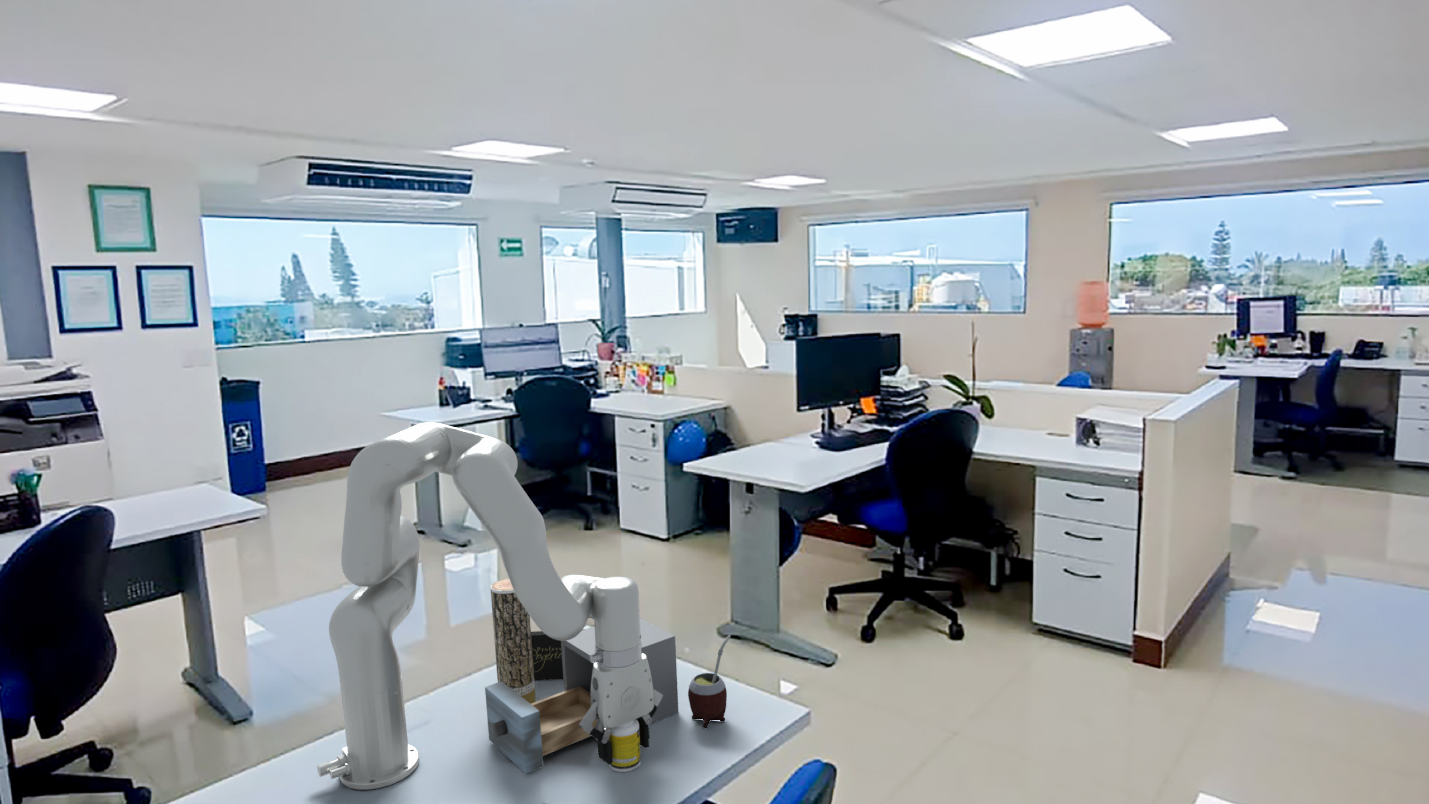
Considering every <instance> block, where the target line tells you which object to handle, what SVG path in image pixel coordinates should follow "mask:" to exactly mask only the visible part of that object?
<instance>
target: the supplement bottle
mask: <svg viewBox="0 0 1429 804" xmlns="http://www.w3.org/2000/svg"><path fill="white" fill-rule="evenodd" d="M608 740H610V741H611V743H612V759H613V762H612V764H610V765H608V767H609V768H610V769H611V770H612V771H615V772H618V773H628V772H631V771H634V770H636V769H637V768H638V767H639V766H640V765H641V759H642V758H641V757H642V756H641V745H640V732H639V723H638V721H637V720H636V719H635V720H632V721H630V722H628V723H625V724H623V725H620V726H618V727H615V728H612V729H611V733H610V736H609V739H608Z"/></svg>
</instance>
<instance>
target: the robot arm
mask: <svg viewBox="0 0 1429 804" xmlns="http://www.w3.org/2000/svg"><path fill="white" fill-rule="evenodd" d="M518 463H519V462H518V458H517V455H516V453H515V451H514V450H513V448H512V447H511V446H510V445H509V444H508V443H506V442H505V441H503V440H501V439H498V438H495V437H492V436H488V435H485V434H482V433H481V434H480V433H478V432H473V431H470V430H466V429H462V428H458V427H454V426H451V425H446V424H443V423H439V422H430V421H429V422H420V423H417V424H414V425H412V426H409V427H407V428H406V429H402V430H401V431H398V432H396V433H394V434H392V435H389V436H386V437H384V438H381V439H379V440H377V441H374V442H372V443H370V444H369V445H367V446H365V447H364V448H363V449H361V450H360V451H359V452H358V453H357V454H356V456H355V457H354V458H353V460H352V461H351V463H350V466H349V470H348V472H347V478H346V479H347V481H346V498H345V499H346V501H345V509H344V510H345V511H344V517H343V518H344V520H343V533H342V545H341V554H340V555H341V557H340V559H341V560H340V561H341V569H342V573H343V574H344V576H345V578H346V579H347V581H348V582H349V583H351V584H353V585H354V586H358V587H356V588H355V589H354V590H353V591H351V592H350V593H349V594H347V596H346V597H344V598H343V599H342V600H341V601H340V602H339V603H338V605H336V607H335V609H334V610H333V612H332V613H331V617H330V619H329V623H328V624H329V625H328V632H329V638H330V639H329V640H330V643H331V645H332V649H333V652H334V656H335V659H336V663H337V669H338V676H339V685H340V691H341V693H340V694H341V702H342V703H341V704H342V710H343V711H342V713H343V721H344V722H343V723H344V730H345V741H346V742H345V743H346V746H345V747H343V748H341V750H342V751H341V752H342V754H340V755H338V756H336V759H332V760H328V761H326V762H323V763H321V764H318V765H316V766H317V767H316V768H317V774H318V776H319V777H320V778H321V777H324V776H326V775H329V777H330V779H331V780H333V779H335V778H339V779H340V782H341V783H342V784H343V785H344V786H346V787H347V788H349V789H352V790H353V789H354V790H361V791H362V790H365V791H367V790H374V789H379V788H380V789H381V788H384V787H387V786H390V785H394V784H396V783H398V782H400V781H402V780H403V779H405V778H406V777H408V776H410V774H412V773H413V772H414V771H415V770H416V768H417V767H418V765H419V761H420V757H419V756H420V755H419V751H418V750H417V748H416V747H414V746H412V745H410V744H409V743H408V741H409V740H408V731H407V730H408V729H407V719H406V709H405V700H404V699H405V698H404V689H403V686H404V685H403V679H402V669H401V661H400V657H399V654H398V651H397V648H396V647H395V642H394V640H393V633H394V632H395V630H396V629H397V628H398V627H399V626H400V625H401V624H402V623H403V622H404V620H406V618H407V617H408V616H409V614H410V613H411V611H412V609H413V607H414V604H415V600H416V593H417V586H418V585H417V584H418V582H417V581H418V574H419V573H418V572H419V560H420V545H421V544H420V537H419V534H418V531H417V528H416V527H415V525H414V524H413V522H411V520H410V519H408V518H407V517H405V516H403V515H402V510H403V509H402V507H403V506H402V504H403V502H402V496H401V489H402V488H403V487H405V486H408V485H411V484H414V483H418V482H420V481H422V480H424V479H426V478H427V477H429V476H431V475H432V474H433V473H440V474H443V475H448V476H451V478H452V480H453V481H452V482H453V484H454V486H455V487H456V489H457V491H458V493H459V494H460V496H461V497H462V498H463V500H464V501H465V502H466V504H467V505H468V506H469V508H470V510H471V511H472V512H473V513H474V515H475V517H476V518H477V519H478V521H479V522H480V524H481V525H482V527H483V528H484V529H485V531H486V532H487V534H488V535H489V537H490V538H491V540H492V541H493V542H494V543H495V545H496V548H498V550H499V551H498V552H500V556H501V560H502V562H503V563H502V564H503V566H504V569H505V572H506V573H507V576H508V579H510V582H511V585H512V587H513V589H514V591H515V593H516V595H517V597H518V599H519V601H520V602H521V604H522V605H523V607H524V608H525V610H526V611H527V613H528V614H529V615H530V619H532V621H533V623H534V624H535V625H536V626H537V627H538V629H539V630H540V631H542V632H544V633H545V634H546V635H547V636H549V637H550V638H553V639H555V640H560V641H566V640H570V639H572V638H574V637H576V636H577V635H578V634H579V633H580V632H581V631H582V630H583V629H585V626H586V624H587V622H588V621H589V619H592V620H593V622H594V626H595V642H596V647H595V653H594V654H592V655H590V661H591V663H594V665H593V671H592V679H591V707H590V709H589V710H588V712H587V713H586V715H585V716H584V718H583V719H582V721H581V722H580V724H579V727H580V728H582V729H583V730H584V731H586V732H587V733H588V734H590V735H591V736H590V737H592V738H593V739H596V745H597V746H596V747H597V757H598V758H599V760H601V761H602V762H604V763H606V764H607V765H608V766H609V765H610V764H612V762H613V759H612V743H611V741H610V740H608V739H609V736H610V733H611V729H612V728H615V727H618V726H620V725H623V724H625V723H628V722H630V721H632V720H635V719H636V720H637V721H638V723H639V732H640V747H642V748H644V749H649V748H650V738H651V737H650V725H652V724H651V722H652V719H651V718H652V716H653V715H654V713H655V712H656V710H657V706H658V705H659V703H660V701H661V699H662V697H663V695H662V694H661V693H659V692H657V691H656V690H654V689H653V684H652V677H651V672H650V668H649V664H648V661H647V657H646V655H645V654H643V653H642V648H641V630H640V618H641V612H640V596H639V595H640V593H639V586H638V583H637V582H636V581H635V580H634V579H632V578H630V577H627V576H619V575H618V576H608V577H606V578H605V577H596V576H589V575H584V574H573V573H572V574H567V575H564V576H562V577H560V576H559V573H558V572H557V571H556V569H555V567H554V564H553V562H552V559H551V556H550V553H549V548H548V542H547V541H548V539H547V530H546V523H545V519H544V517H543V515H542V514H541V512H540V511H539V510H538V508H537V507H536V505H535V504H534V503H533V501H532V500H531V498H530V497H529V496H528V494H527V492H526V491H525V490H524V488H523V487H522V486H521V484H520V482H519V481H518V479H517V478H516V477H515V475H516V473H517V469H518ZM594 626H593V627H594ZM595 662H596V663H595ZM637 718H638V719H637ZM594 720H598V721H597V724H596V727H595V728H594V727H592V723H593V721H594ZM603 727H604V729H603ZM602 730H603V733H602Z"/></svg>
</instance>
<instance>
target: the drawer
mask: <svg viewBox="0 0 1429 804" xmlns="http://www.w3.org/2000/svg"><path fill="white" fill-rule="evenodd" d="M484 690H485V691H484V692H485V693H484V694H485V704H486V715H487V716H486V717H487V731H488V741H490V742H491V743H492V744H493V745H494V746H495V747H496V748H497V749H499V751H501V753H503V754H504V755H505V756H506V757H507V758H508V759H509V760H510V761H511V762H512V763H513V764H515V765H516V766H517V767H518V768H519V769H520V770H521V771H522V772H523V773H524V774H525V775H528V774H529V773H532V772H534V771H537V770H539V769H541V768H544V756H547V755H548V754H551V753H553V752H556V751H559V750H561V749H563V748H565V747H567V746H570V745H573V744H575V743H578V742H579V741H583V740H585V739H587V738H590V737H592V736H591V735H590V734H588V733H587V732H586V731H584V730H583V729H582V728H580V727H579V724H580V722H581V721H582V719H583V718H584V716H585V715H586V713H587V712H588V710H589V709H590V707H591V693H589V692H588V691H586V690H585V689H583V688H582V687H580V686H577V687H575V688H572V689H569V690H566V691H564V690H563V691H561V692H558V693H556V694H553V695H550V696H548V697H545V698H542V699H540V700H536V702H534V703H531V704H530V703H529V702H528V701H526V700H525V699H524V698H522V697H521V696H520V695H519V694H517V693H516V692H515V691H514V690H512V689H511V688H510V687H509V686H507V685H506V684H505V683H503V682H502V681H501V682H498V681H497V682H496V683H492V684H489V685H487V686H485V687H484ZM597 721H598V720H594V721H593V723H592V727H594V728H595V727H596V724H597Z"/></svg>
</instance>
